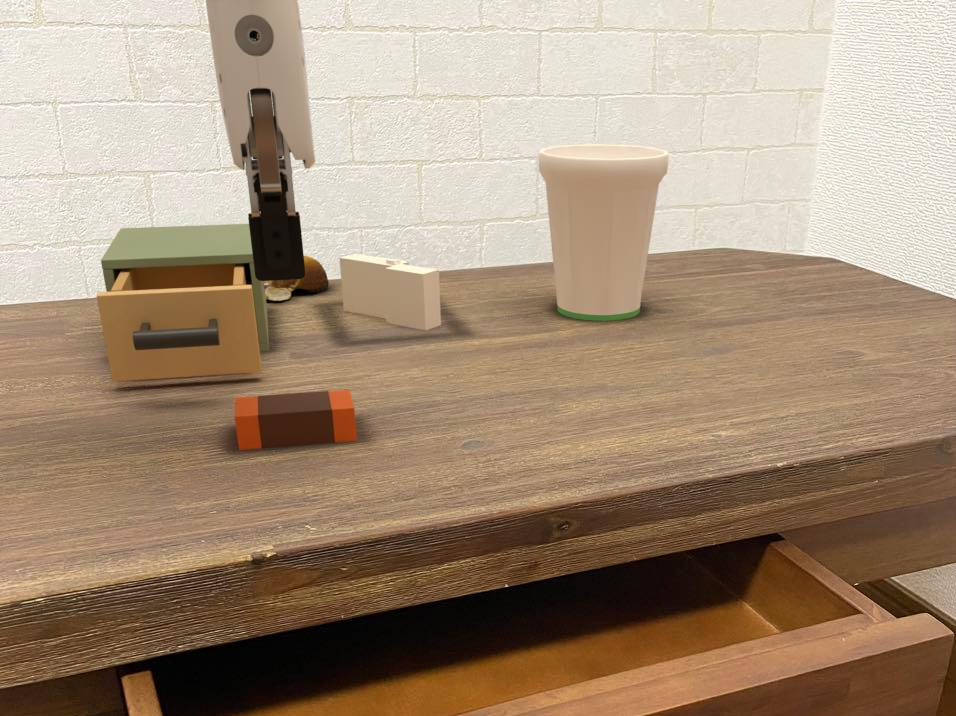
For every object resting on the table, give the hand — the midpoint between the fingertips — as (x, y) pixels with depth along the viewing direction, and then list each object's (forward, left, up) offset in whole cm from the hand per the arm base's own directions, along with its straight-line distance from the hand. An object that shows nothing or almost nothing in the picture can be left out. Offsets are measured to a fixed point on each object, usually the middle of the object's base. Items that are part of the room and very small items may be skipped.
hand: (280, 276), depth 69 cm
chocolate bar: (0, 0, -11) cm, 11 cm away
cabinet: (-8, +29, -11) cm, 32 cm away
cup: (+31, +29, -12) cm, 44 cm away
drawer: (-8, +17, -10) cm, 22 cm away
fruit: (0, +44, -12) cm, 45 cm away
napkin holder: (+10, +30, -11) cm, 34 cm away
